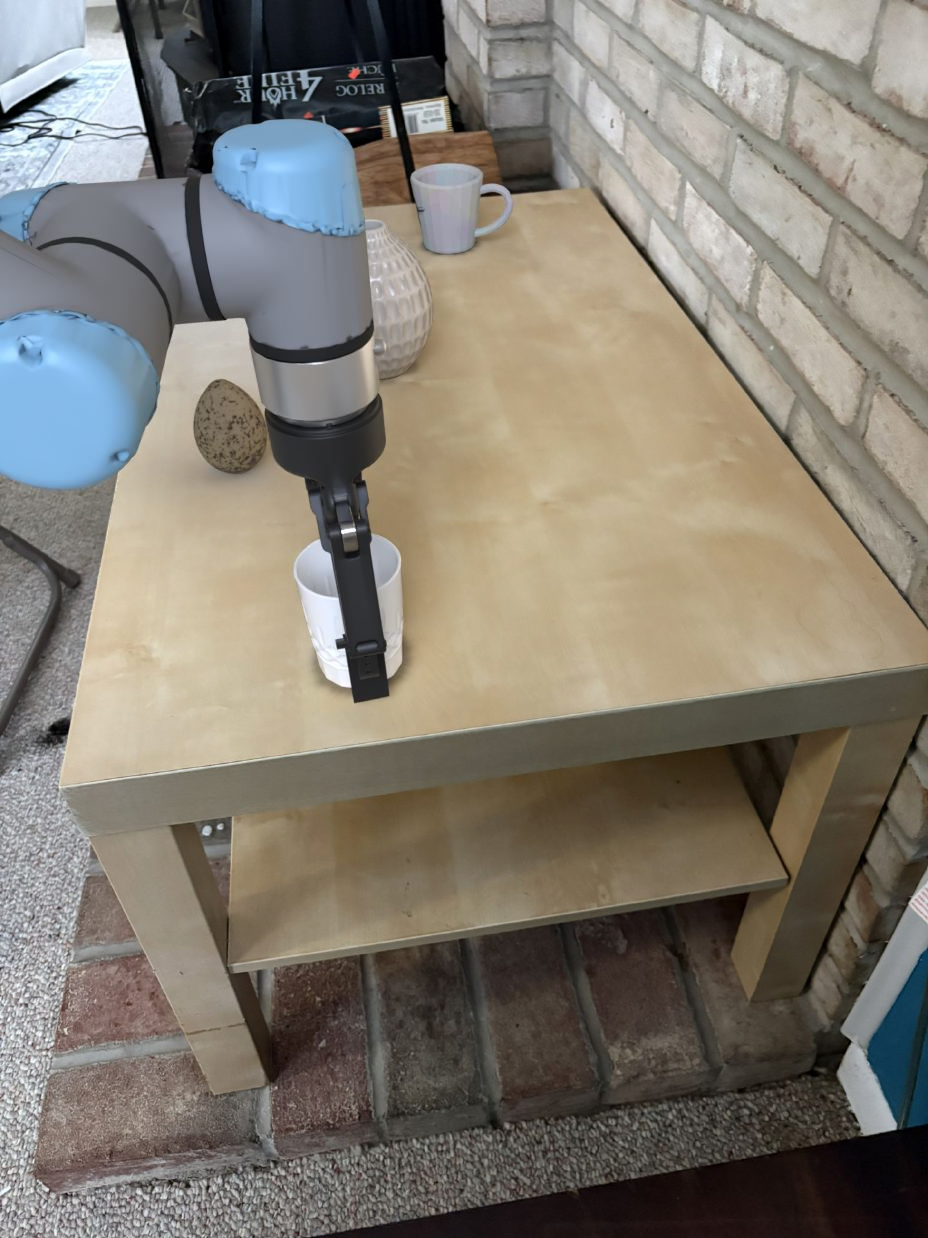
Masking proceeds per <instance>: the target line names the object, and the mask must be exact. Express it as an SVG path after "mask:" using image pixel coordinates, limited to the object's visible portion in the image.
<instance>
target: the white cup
mask: <svg viewBox="0 0 928 1238" xmlns="http://www.w3.org/2000/svg"><path fill="white" fill-rule="evenodd" d="M371 536H372V541H371V543H370V549H371V557H372V563H373V570H374V576H375V582H376V589H377V595H378V602H379V608H380V615H381V621H382V628H383V634H384V639H385V640H386V642H387V647H386V649H387V650H386V652H384V655H385V663H386V671H387V679H388V680H389V679H390V678H392V677H393V676H394V675H395V674H396V672H397V671H398V670H399V668H400V667H401V665H402V663H403V634H404V597H403V577H402V576H403V575H402V574H403V573H402V557H401V556H402V555H401V553H400V551H399V550H398V549H399V548H397V546H396V545H395V544H394V543H393V542H392V541H390V540H389V539H388V538H386V537H384V536H381V535H379V534H377V533H373V532H371ZM292 568H293V569H292V570H293V577H294V580H295V584H296V589H297V591H298V596H299V599H300V600H299V601H300V604H301V607H302V611H303V615H304V618H305V622H306V625H307V629H308V631H309V636H310V639H311V642H312V645H313V648H314V650H315V654H316V659H317V662H318V666H319V668H320V670H321V671H322V673H323V675H324V676H325V678H326V679H327V680H328V681H330V682H332V683H333V684H336V685H337V686H339V687H341V688H349V689H351V683H350V677H349V671H348V665H347V659H346V653H345V648H344V649H339V650H337V647H336V642H335V639H340V638H343V635H342V634H345V631H344V626H343V620H342V615H341V609H340V604H339V599H338V593H337V588H336V582H335V577H334V571H333V566H332V560H331V555H330V553H328V552H326V551H324V550H323V548H322V546H321V541H320V537H319V538H317V539H315V540H314V541H312V542H310V543H308V544H307V545H306V546H305V547H304V548H303V549H302V550H301V551H300V552H299V553H298V555H297V557H296V558H295V560H294V563H293V567H292Z"/></svg>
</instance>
